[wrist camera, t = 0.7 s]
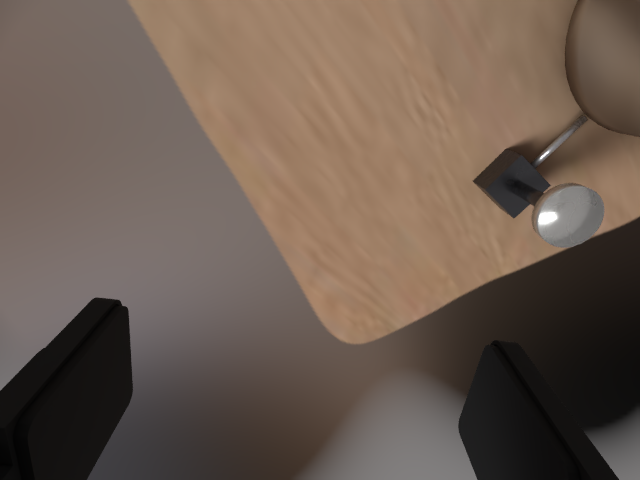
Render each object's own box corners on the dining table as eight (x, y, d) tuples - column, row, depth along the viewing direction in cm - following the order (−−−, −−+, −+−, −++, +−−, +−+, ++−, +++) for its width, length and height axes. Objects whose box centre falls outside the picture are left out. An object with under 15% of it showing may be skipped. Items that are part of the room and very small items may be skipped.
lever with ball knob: (499, 210, 39) (564, 259, 29) (469, 181, 38) (525, 221, 28) (585, 132, 37) (689, 155, 26) (555, 98, 36) (651, 108, 25)
